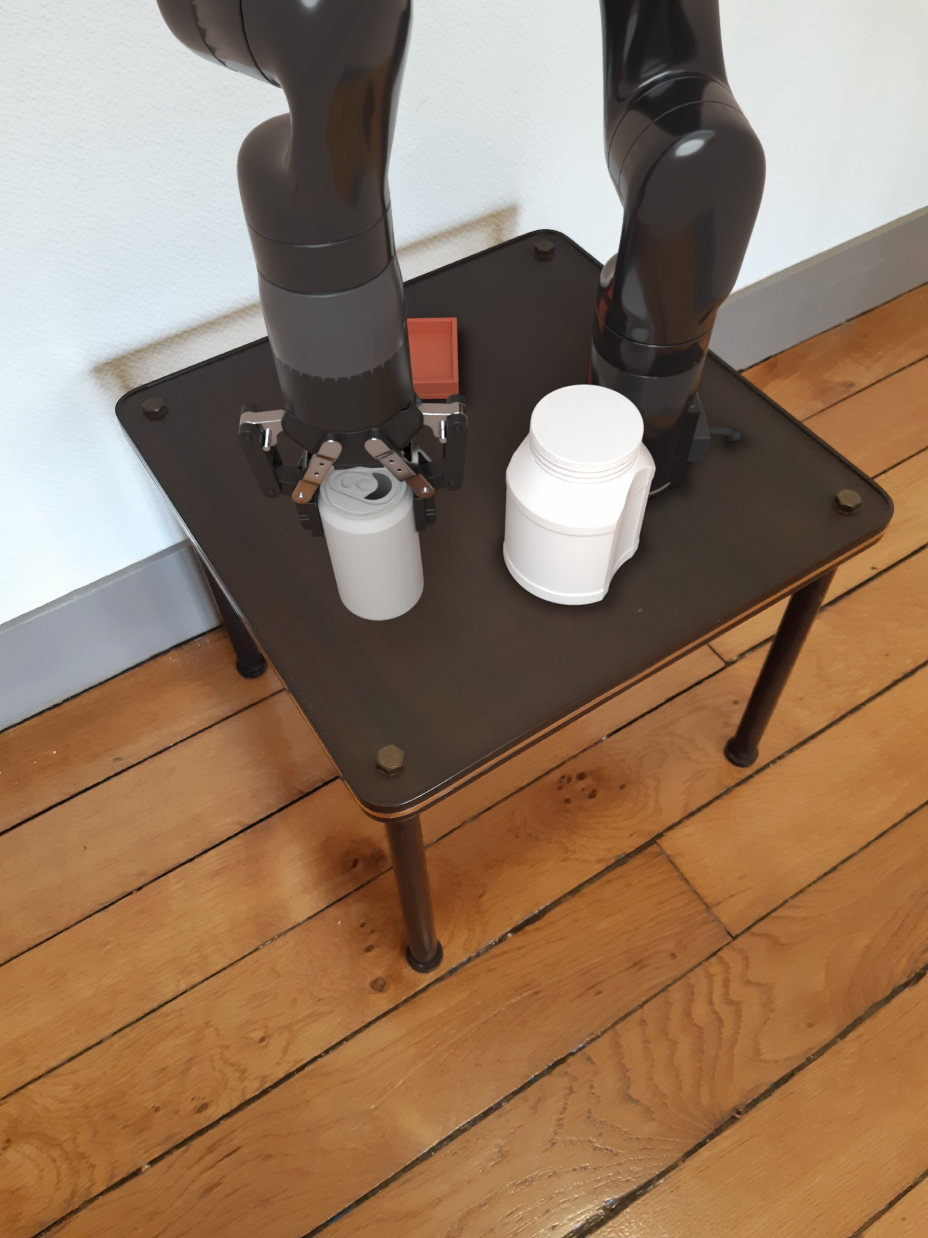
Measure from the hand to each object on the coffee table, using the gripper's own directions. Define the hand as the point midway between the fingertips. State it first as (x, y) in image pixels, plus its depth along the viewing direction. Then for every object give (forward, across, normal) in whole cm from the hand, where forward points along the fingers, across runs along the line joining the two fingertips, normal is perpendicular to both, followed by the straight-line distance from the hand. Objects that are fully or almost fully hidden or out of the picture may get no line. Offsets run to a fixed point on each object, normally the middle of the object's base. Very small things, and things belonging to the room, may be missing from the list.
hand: (370, 524), depth 65 cm
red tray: (+14, +2, +32) cm, 35 cm away
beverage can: (+8, 0, 0) cm, 8 cm away
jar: (+14, +15, +8) cm, 23 cm away
